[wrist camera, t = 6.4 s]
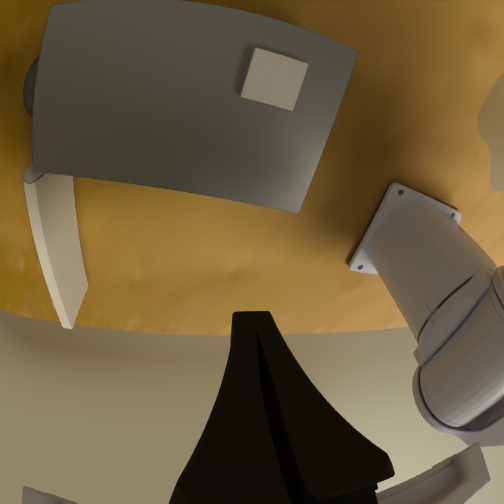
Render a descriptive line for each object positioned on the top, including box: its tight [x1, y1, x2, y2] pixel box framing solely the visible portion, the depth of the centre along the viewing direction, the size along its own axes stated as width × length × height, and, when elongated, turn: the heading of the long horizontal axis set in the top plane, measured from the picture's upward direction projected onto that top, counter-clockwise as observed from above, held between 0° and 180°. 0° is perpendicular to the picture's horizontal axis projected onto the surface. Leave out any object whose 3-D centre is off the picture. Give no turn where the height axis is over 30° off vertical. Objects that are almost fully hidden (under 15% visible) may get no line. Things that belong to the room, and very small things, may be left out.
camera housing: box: [23, 0, 359, 214], centre depth 11 cm, size 14×8×6 cm, turn 74°
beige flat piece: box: [23, 165, 88, 329], centre depth 15 cm, size 12×2×4 cm, turn 167°
